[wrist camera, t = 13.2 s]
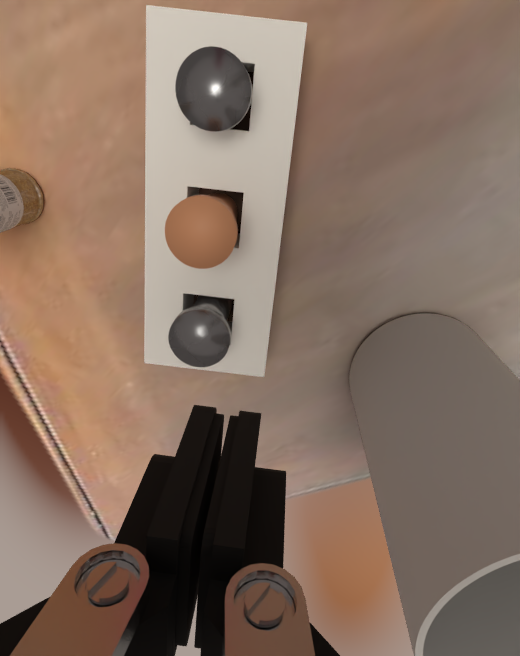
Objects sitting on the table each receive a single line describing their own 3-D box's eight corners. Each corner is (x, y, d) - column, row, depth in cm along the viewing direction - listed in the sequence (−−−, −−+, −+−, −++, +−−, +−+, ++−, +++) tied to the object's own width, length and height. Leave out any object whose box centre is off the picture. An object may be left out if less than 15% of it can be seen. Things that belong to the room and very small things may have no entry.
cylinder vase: (336, 419, 46) (385, 713, 23) (364, 300, 41) (464, 521, 18) (462, 437, 46) (640, 750, 23) (505, 321, 41) (789, 567, 18)
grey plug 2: (242, 280, 40) (231, 315, 32) (237, 328, 41) (227, 370, 34) (191, 275, 40) (169, 307, 32) (188, 322, 41) (167, 363, 34)
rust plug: (249, 186, 35) (239, 201, 28) (244, 244, 37) (233, 272, 29) (191, 179, 35) (165, 192, 28) (188, 237, 37) (163, 264, 29)
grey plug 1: (261, 68, 33) (254, 50, 26) (255, 134, 35) (247, 135, 28) (200, 61, 33) (176, 42, 26) (197, 127, 35) (174, 127, 28)
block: (304, 37, 33) (307, 22, 29) (266, 350, 43) (264, 377, 38) (165, 22, 33) (146, 5, 29) (159, 338, 43) (144, 363, 39)
